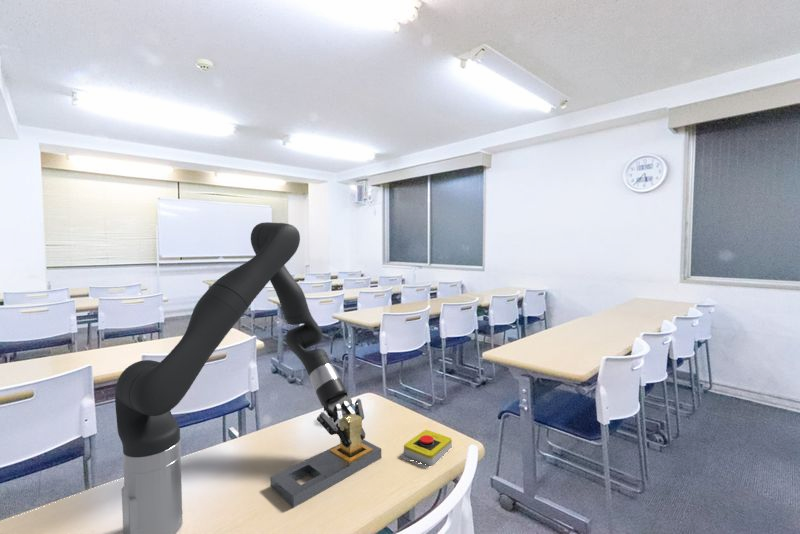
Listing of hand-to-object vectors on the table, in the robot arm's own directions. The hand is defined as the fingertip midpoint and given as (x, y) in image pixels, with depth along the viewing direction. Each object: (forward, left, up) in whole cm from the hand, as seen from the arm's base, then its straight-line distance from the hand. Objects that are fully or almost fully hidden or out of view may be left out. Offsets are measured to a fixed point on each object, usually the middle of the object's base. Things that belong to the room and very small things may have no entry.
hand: (356, 442), depth 95 cm
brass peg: (0, +2, -4) cm, 5 cm away
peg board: (-7, +2, -5) cm, 9 cm away
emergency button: (+17, -10, -6) cm, 21 cm away
